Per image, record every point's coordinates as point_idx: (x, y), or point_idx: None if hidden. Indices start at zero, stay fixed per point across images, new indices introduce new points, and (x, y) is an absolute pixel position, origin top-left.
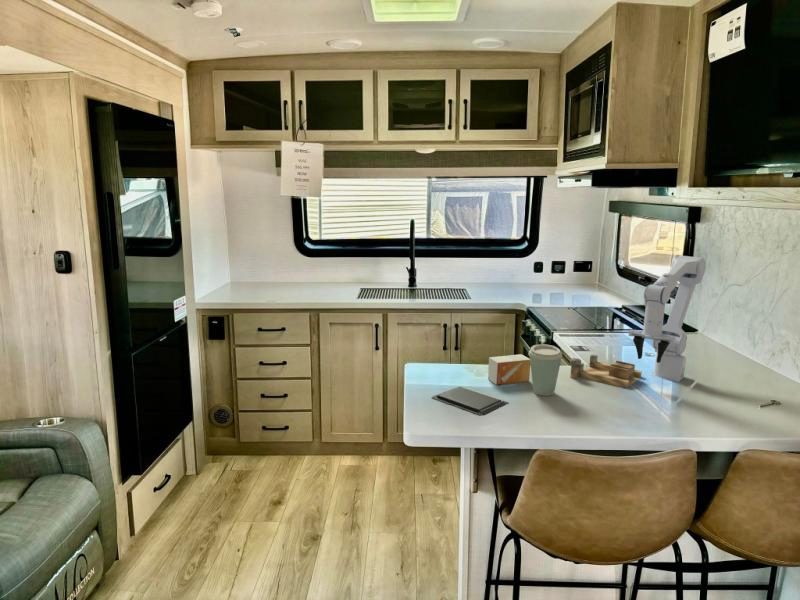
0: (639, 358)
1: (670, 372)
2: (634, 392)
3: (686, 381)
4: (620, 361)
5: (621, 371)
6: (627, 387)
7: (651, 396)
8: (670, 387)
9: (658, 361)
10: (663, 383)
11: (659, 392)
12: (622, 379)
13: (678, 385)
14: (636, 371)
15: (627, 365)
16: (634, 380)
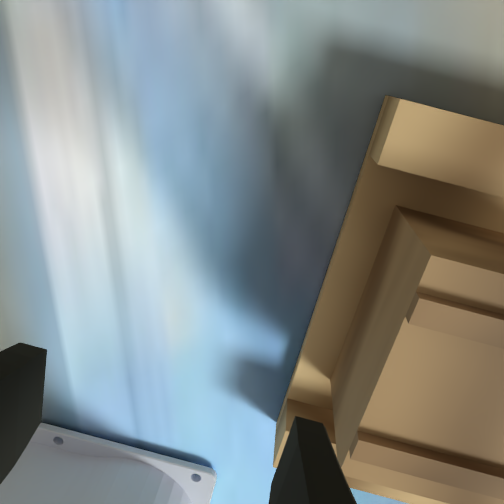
0: (302, 421)
1: (67, 497)
2: (314, 49)
3: None
4: (498, 493)
5: (487, 259)
6: (382, 114)
7: (162, 13)
8: (65, 318)
9: (7, 350)
10: (121, 380)
11: (117, 164)
12: (451, 170)
13: None
14: None
15: (419, 420)
16: (322, 329)
